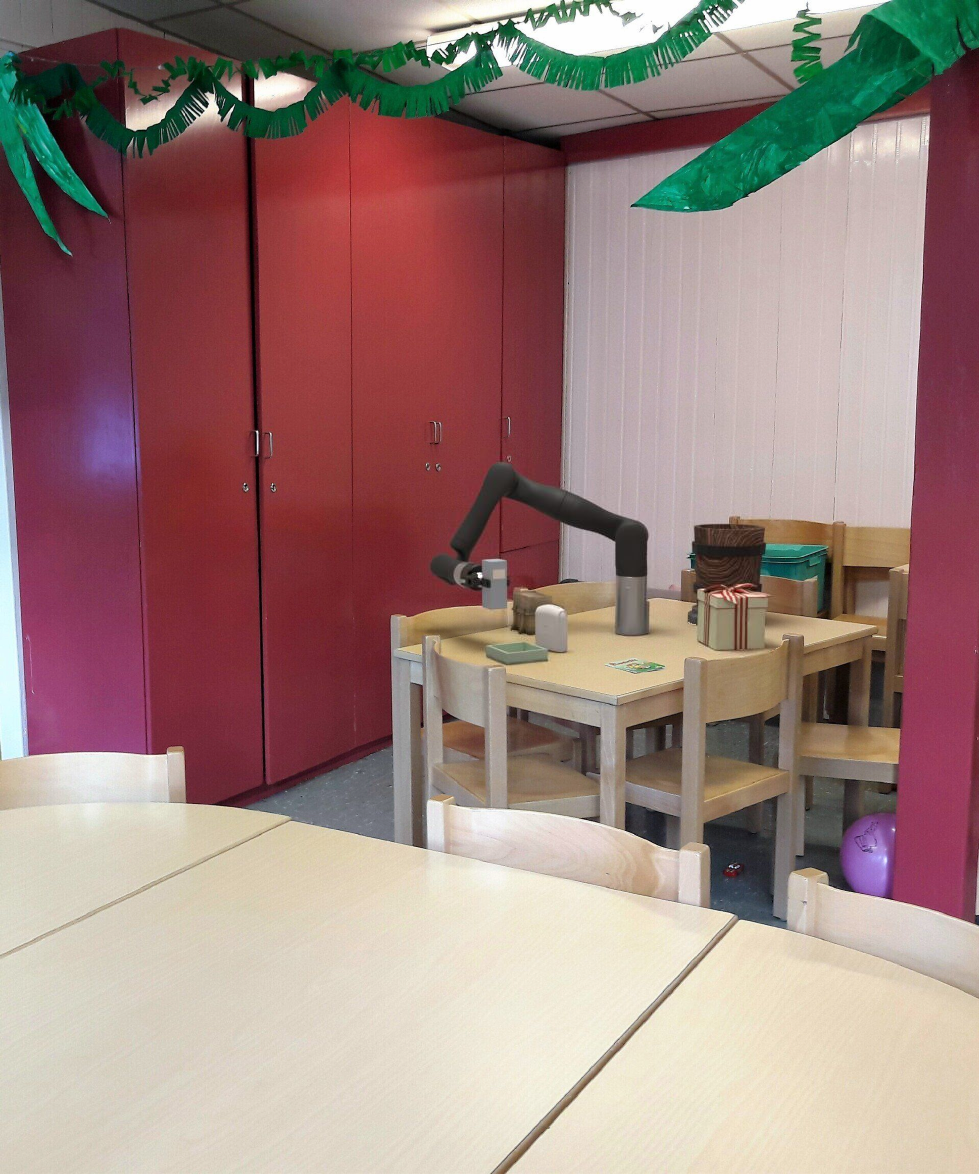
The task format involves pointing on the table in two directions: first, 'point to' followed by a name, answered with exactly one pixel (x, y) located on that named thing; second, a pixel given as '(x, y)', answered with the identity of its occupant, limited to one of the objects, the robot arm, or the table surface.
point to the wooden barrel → (726, 557)
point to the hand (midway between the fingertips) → (498, 583)
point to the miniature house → (528, 610)
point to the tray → (516, 653)
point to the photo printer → (551, 628)
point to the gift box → (732, 617)
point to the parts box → (495, 584)
